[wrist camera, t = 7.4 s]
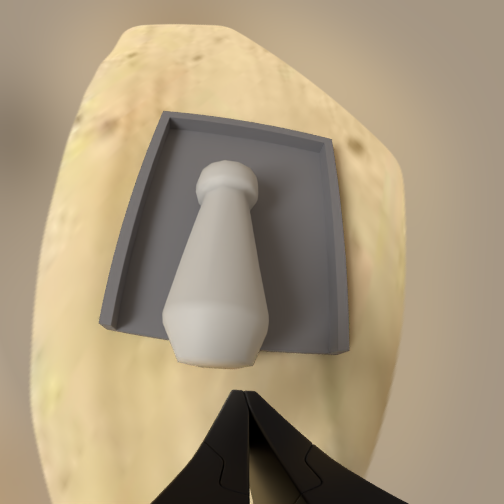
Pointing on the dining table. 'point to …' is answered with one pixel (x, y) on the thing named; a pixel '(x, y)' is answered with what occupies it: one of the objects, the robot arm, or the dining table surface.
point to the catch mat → (263, 221)
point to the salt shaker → (219, 276)
